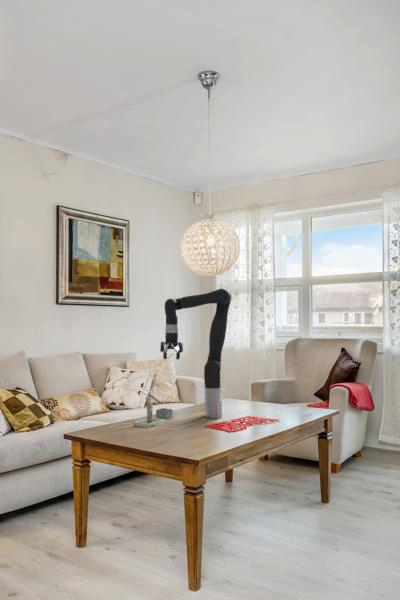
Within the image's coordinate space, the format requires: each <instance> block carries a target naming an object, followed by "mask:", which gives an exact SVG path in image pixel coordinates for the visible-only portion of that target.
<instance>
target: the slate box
mask: <svg viewBox="0 0 400 600" xmlns="http://www.w3.org/2000/svg"><path fill="white" fill-rule="evenodd" d="M155 418H158V419H165V421H166V420H171V419H172V418H173V409H172V408H167V407H166V408H165V407H162V408H157V409H156V410H155Z"/></svg>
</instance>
